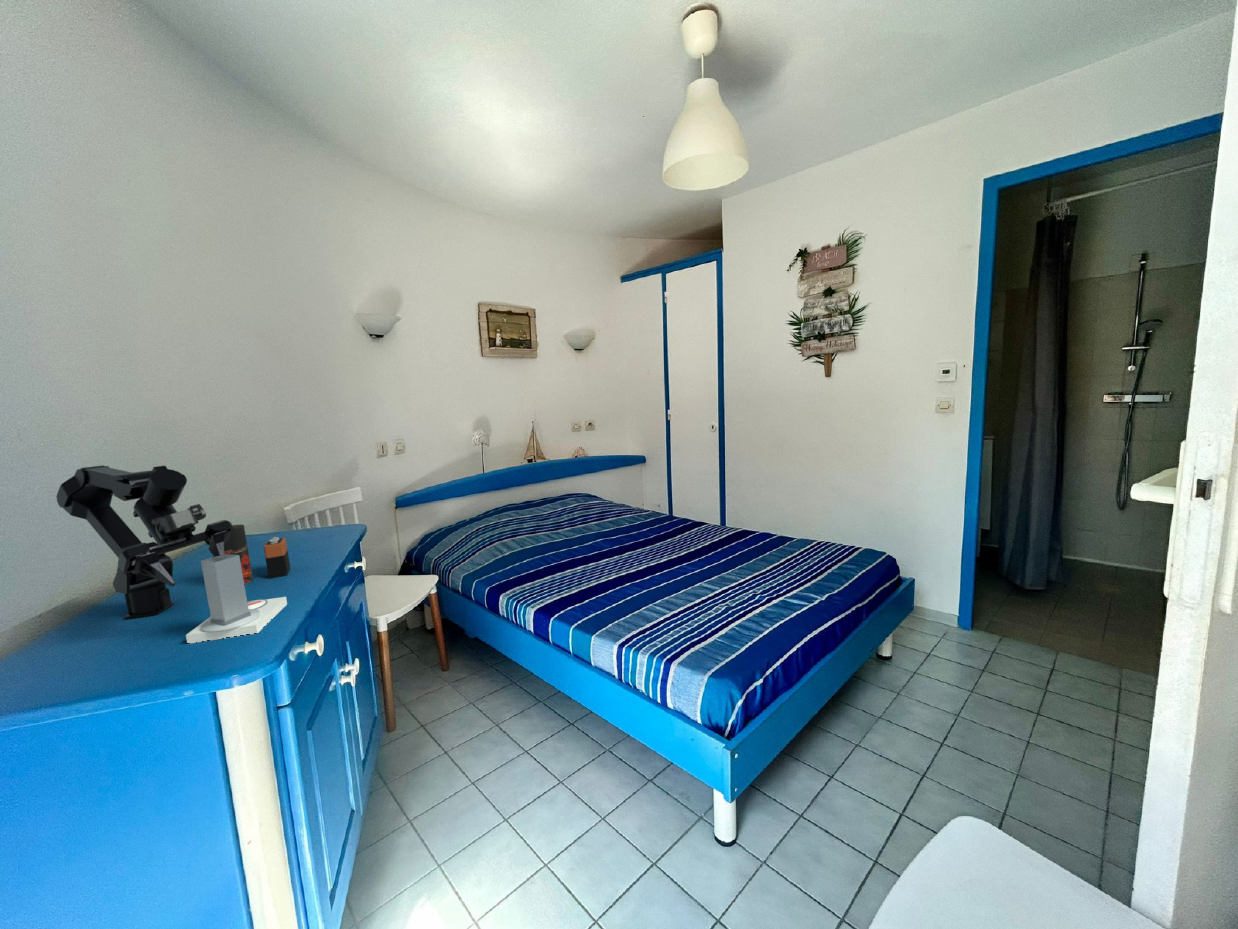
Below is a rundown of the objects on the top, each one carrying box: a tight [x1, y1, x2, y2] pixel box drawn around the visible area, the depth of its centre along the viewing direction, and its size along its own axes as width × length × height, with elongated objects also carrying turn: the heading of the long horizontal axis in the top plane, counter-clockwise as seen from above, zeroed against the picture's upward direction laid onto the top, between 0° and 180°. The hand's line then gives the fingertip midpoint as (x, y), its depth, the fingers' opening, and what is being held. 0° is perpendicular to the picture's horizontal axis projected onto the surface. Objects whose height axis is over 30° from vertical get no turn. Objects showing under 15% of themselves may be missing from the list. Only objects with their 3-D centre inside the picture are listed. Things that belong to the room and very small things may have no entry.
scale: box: [185, 596, 288, 644], centre depth 105 cm, size 12×16×2 cm
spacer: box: [200, 554, 251, 626], centre depth 101 cm, size 5×5×13 cm
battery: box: [263, 536, 291, 579], centre depth 136 cm, size 4×7×10 cm, turn 27°
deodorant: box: [224, 524, 254, 585], centre depth 130 cm, size 6×6×15 cm
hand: (200, 575), depth 104 cm, fingers open, 9 cm apart
